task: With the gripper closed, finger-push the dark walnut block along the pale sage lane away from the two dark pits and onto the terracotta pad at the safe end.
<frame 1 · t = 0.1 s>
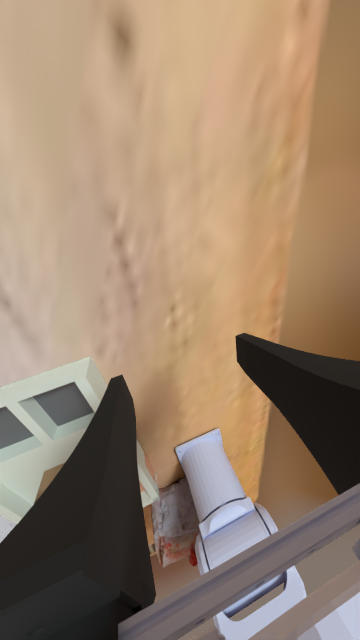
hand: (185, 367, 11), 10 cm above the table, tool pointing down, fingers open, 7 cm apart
walnut block: (76, 472, 23), point 2 cm above the table, touching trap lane
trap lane: (75, 451, 25), on the table
food item: (183, 484, 36), on the table
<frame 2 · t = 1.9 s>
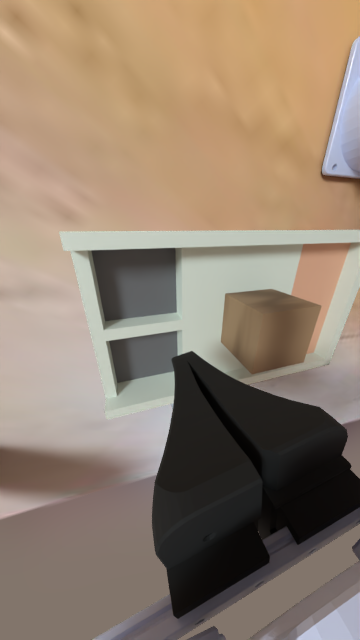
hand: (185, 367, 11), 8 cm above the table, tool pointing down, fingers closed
walnut block: (245, 315, 18), point 2 cm above the table, touching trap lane
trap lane: (226, 310, 20), on the table
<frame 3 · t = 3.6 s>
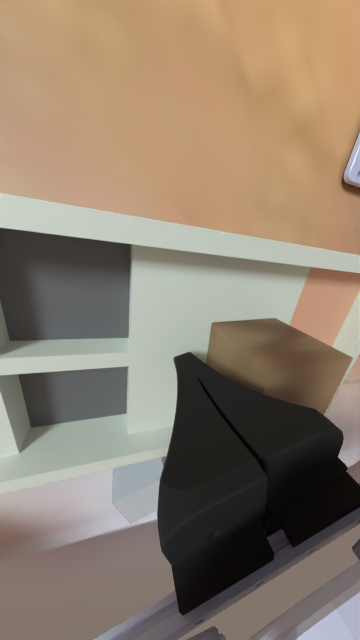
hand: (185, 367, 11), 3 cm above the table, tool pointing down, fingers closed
walnut block: (238, 351, 13), point 2 cm above the table, touching gripper
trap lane: (200, 340, 15), on the table
grey block: (141, 450, 18), on the table
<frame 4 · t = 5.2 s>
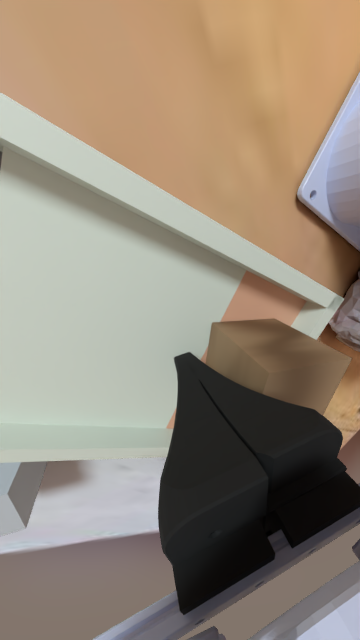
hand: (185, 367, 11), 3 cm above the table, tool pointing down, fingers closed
walnut block: (237, 351, 13), point 2 cm above the table, touching gripper, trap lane
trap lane: (112, 325, 12), on the table
grey block: (10, 452, 14), on the table
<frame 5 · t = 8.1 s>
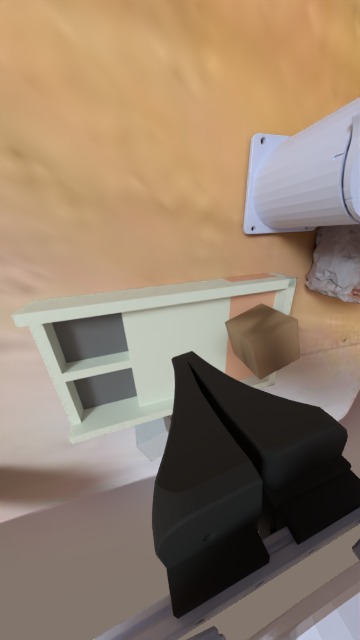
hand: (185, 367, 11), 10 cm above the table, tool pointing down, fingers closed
walnut block: (247, 329, 23), point 2 cm above the table, touching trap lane
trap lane: (175, 344, 23), on the table
grey block: (153, 419, 27), on the table
food item: (331, 237, 24), on the table
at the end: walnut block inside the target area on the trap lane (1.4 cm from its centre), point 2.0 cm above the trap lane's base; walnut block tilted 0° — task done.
